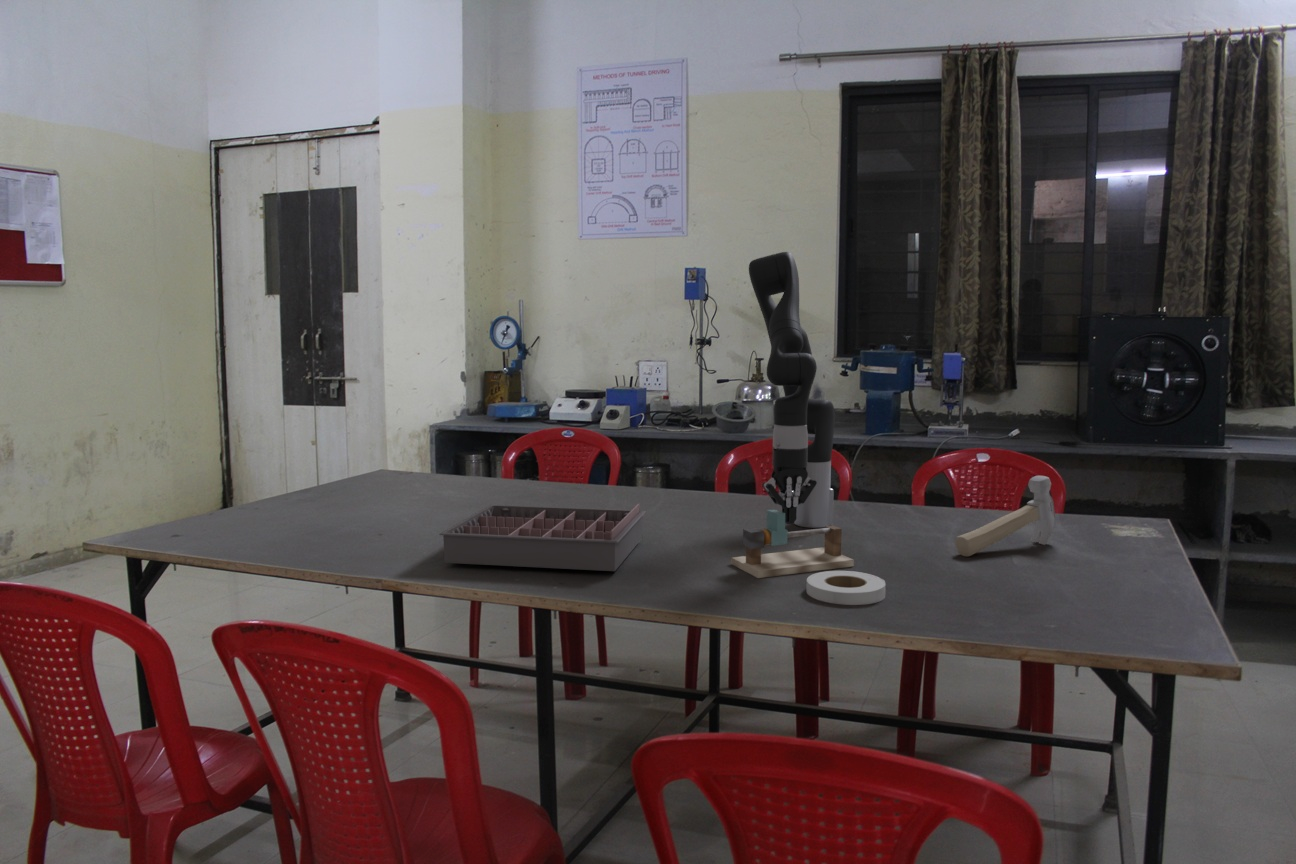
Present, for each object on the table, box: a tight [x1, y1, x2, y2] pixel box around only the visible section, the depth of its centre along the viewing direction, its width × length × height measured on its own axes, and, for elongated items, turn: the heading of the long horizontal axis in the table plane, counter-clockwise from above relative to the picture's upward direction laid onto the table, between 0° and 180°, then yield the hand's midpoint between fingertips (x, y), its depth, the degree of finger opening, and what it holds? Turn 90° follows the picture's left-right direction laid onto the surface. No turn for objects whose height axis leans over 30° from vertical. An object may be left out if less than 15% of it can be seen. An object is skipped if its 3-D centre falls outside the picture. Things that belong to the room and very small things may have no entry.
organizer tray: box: [439, 503, 647, 572], centre depth 216 cm, size 32×40×10 cm
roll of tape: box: [805, 570, 887, 606], centre depth 186 cm, size 16×15×3 cm
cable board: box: [730, 524, 855, 579], centre depth 206 cm, size 24×12×9 cm, turn 113°
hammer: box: [954, 475, 1056, 558], centre depth 221 cm, size 16×5×30 cm
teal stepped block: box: [763, 509, 789, 547], centre depth 204 cm, size 4×4×7 cm
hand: (788, 523), depth 205 cm, fingers closed
